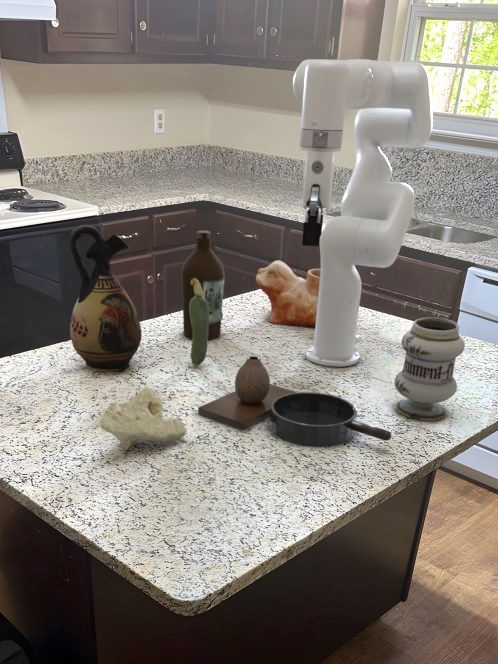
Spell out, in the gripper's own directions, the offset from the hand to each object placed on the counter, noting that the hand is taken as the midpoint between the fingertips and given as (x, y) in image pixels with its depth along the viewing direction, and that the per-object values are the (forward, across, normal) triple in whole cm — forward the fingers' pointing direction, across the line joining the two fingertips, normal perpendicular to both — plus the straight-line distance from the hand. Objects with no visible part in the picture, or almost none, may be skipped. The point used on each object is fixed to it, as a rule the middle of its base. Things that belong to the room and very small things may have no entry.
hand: (311, 240), depth 138 cm
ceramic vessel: (+31, +51, +3) cm, 60 cm away
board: (+30, -12, +9) cm, 34 cm away
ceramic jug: (+31, +4, +44) cm, 54 cm away
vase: (+29, -12, +9) cm, 33 cm away
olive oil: (+31, +32, +27) cm, 51 cm away
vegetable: (+31, +8, +23) cm, 39 cm away
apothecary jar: (+31, -6, -25) cm, 40 cm away
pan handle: (+28, -26, -14) cm, 40 cm away
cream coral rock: (+31, -35, +26) cm, 53 cm away
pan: (+30, -20, -4) cm, 36 cm away
